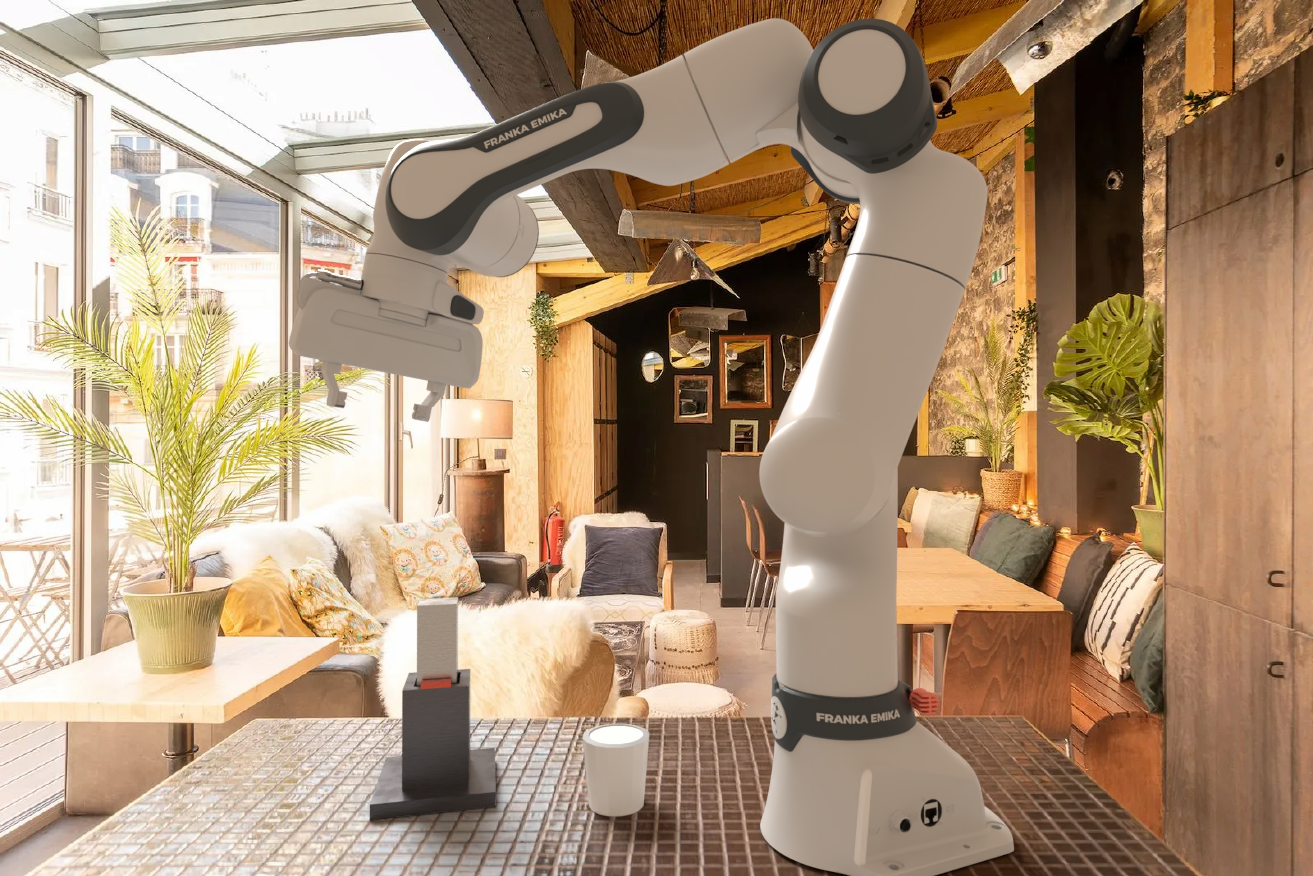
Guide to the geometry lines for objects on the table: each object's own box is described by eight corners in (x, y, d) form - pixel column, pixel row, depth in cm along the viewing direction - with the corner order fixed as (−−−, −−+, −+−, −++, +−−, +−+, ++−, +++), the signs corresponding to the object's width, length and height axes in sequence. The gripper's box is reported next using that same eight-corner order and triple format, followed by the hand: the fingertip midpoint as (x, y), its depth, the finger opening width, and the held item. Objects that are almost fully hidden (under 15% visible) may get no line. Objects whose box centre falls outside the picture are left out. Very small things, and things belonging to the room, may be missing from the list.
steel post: (458, 761, 83) (458, 597, 83) (456, 776, 79) (457, 604, 79) (419, 765, 82) (420, 598, 82) (415, 780, 78) (416, 605, 78)
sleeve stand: (494, 760, 87) (494, 655, 88) (495, 807, 76) (495, 685, 76) (386, 770, 85) (386, 662, 85) (369, 820, 73) (370, 694, 74)
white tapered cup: (642, 822, 72) (641, 749, 73) (573, 816, 74) (573, 744, 74) (656, 791, 79) (655, 724, 79) (593, 786, 80) (593, 720, 81)
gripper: (310, 263, 74) (284, 400, 74) (497, 313, 87) (474, 430, 87) (295, 265, 79) (271, 394, 79) (474, 312, 92) (452, 424, 92)
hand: (379, 414), depth 83 cm, fingers open, 8 cm apart
